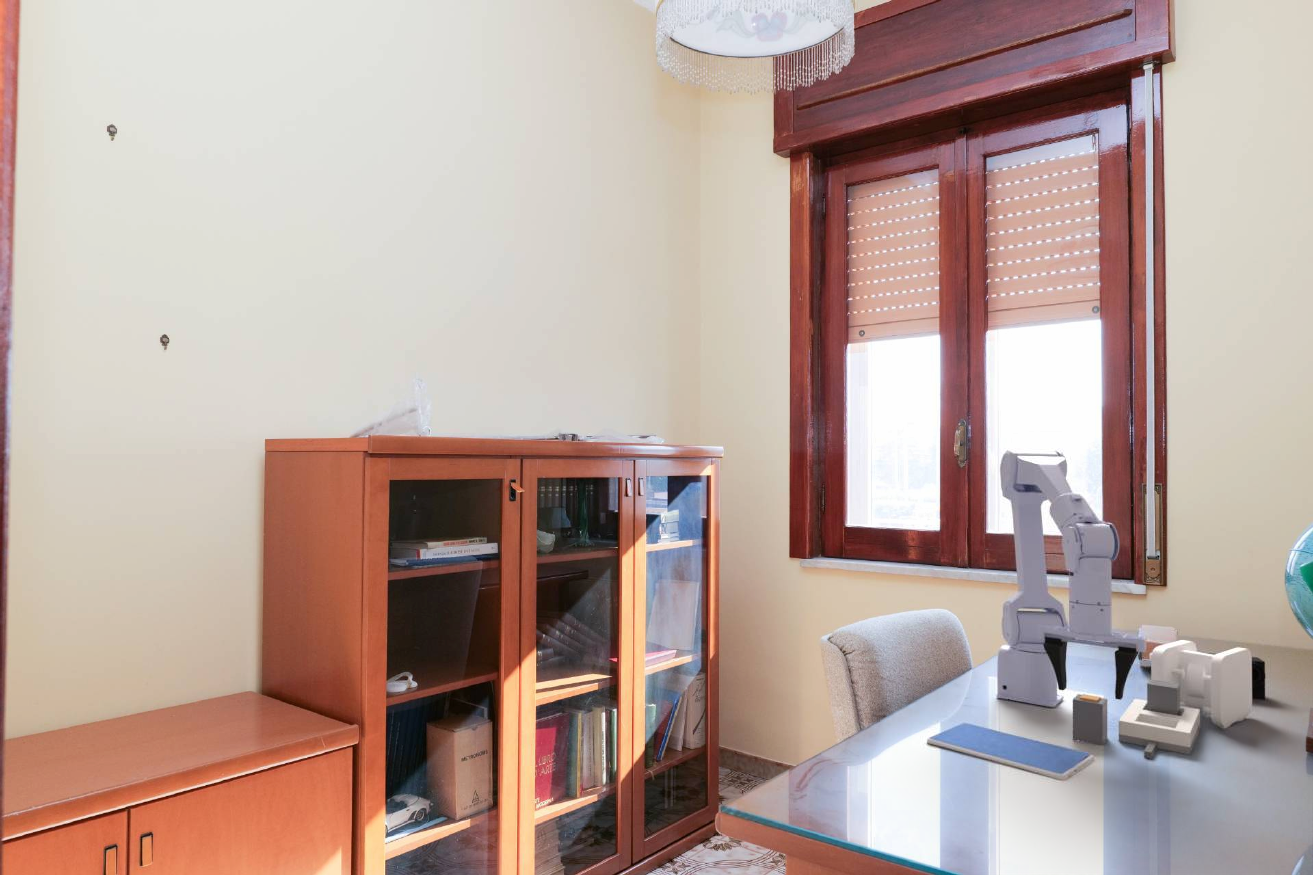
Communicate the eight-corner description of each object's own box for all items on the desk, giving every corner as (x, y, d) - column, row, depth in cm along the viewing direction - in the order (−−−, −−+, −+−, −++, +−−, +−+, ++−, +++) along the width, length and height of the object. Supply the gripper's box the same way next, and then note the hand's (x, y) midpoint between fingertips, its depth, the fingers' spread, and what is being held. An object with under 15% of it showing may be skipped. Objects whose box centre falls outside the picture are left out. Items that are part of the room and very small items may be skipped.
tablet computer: (1096, 762, 115) (1096, 753, 115) (1063, 784, 106) (1063, 774, 106) (963, 729, 129) (963, 721, 129) (924, 746, 120) (924, 737, 120)
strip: (1185, 765, 113) (1185, 713, 113) (1111, 750, 118) (1111, 701, 119) (1200, 728, 130) (1199, 683, 130) (1134, 716, 136) (1134, 674, 136)
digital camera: (1200, 695, 151) (1199, 656, 151) (1192, 688, 156) (1192, 651, 156) (1267, 702, 147) (1267, 662, 148) (1257, 694, 152) (1257, 656, 153)
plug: (1072, 739, 123) (1072, 697, 124) (1078, 733, 126) (1078, 691, 127) (1102, 745, 121) (1102, 702, 121) (1107, 738, 124) (1107, 696, 124)
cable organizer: (1220, 733, 128) (1220, 658, 128) (1147, 716, 136) (1147, 646, 137) (1253, 717, 137) (1253, 647, 138) (1183, 702, 146) (1182, 636, 146)
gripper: (1032, 600, 126) (1032, 689, 125) (1141, 611, 117) (1141, 707, 116) (1043, 595, 131) (1043, 681, 131) (1148, 605, 122) (1148, 697, 122)
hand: (1090, 693), depth 124 cm, fingers open, 7 cm apart
